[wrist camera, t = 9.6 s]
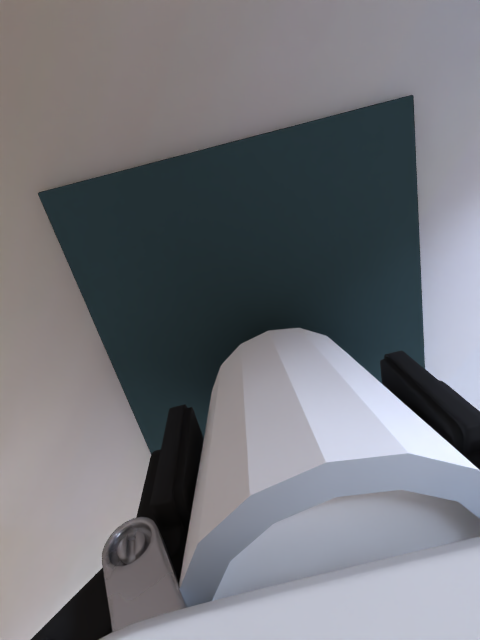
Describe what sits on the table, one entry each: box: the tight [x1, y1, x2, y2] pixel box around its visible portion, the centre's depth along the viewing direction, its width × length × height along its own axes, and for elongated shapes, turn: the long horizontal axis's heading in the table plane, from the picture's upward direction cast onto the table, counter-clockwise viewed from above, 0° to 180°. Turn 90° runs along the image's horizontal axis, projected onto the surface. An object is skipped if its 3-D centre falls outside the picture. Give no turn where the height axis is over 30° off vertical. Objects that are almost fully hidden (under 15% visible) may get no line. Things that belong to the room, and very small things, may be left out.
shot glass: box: [179, 328, 480, 607], centre depth 10 cm, size 7×7×7 cm
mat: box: [38, 95, 425, 455], centre depth 15 cm, size 13×20×1 cm, turn 14°
